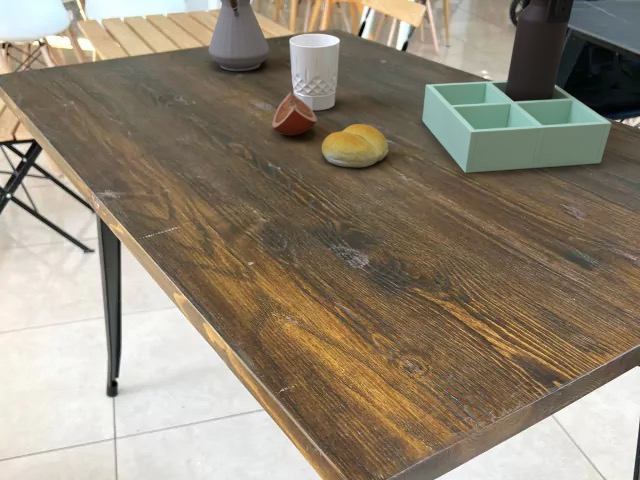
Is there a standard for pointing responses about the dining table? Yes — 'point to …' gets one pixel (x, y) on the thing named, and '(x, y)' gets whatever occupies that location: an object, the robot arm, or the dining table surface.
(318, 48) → the white cup
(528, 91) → the vinegar
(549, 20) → the robot arm
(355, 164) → the bread roll
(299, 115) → the fruit slice
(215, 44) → the coffee pot
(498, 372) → the dining table surface
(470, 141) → the green compartment tray
